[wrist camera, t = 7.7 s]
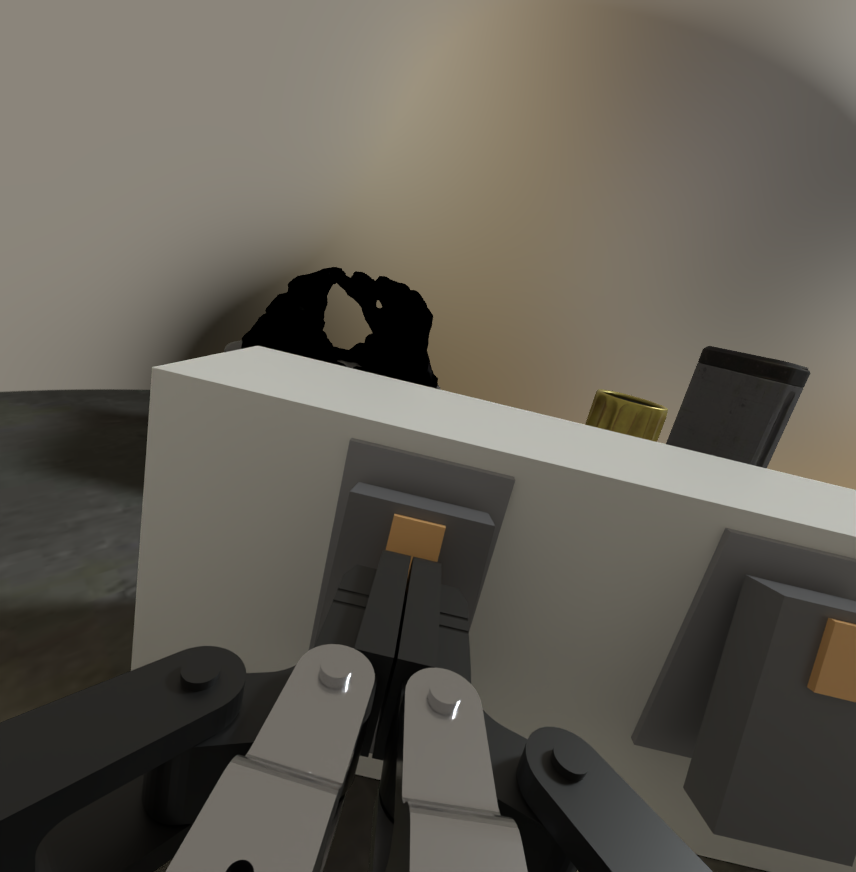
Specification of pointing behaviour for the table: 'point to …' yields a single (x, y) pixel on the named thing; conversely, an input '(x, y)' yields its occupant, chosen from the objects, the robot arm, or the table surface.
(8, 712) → the table surface
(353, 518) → the outer rocker
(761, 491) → the power box
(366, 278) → the coal bowl
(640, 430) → the vase
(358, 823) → the table surface
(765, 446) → the electronic device
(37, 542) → the table surface
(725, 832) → the block
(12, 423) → the table surface
